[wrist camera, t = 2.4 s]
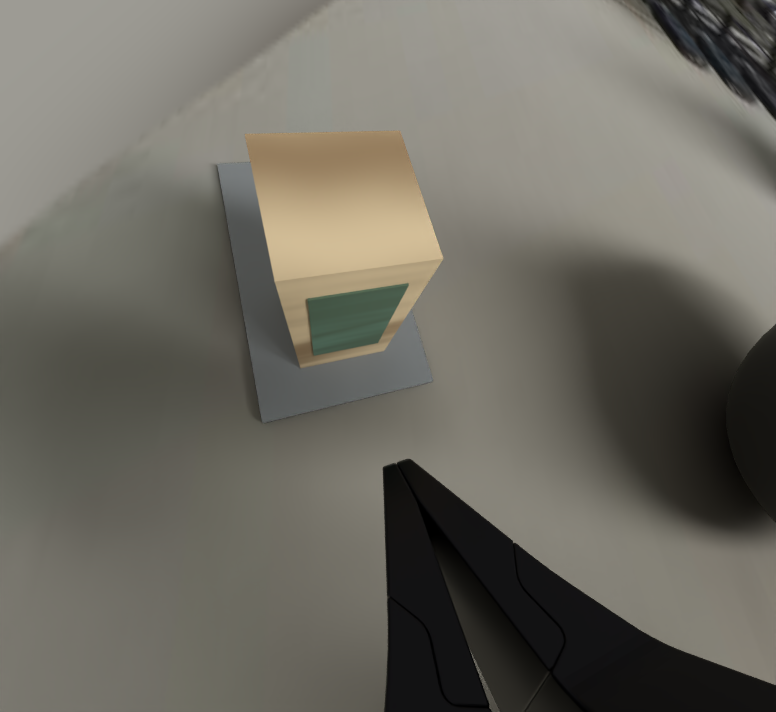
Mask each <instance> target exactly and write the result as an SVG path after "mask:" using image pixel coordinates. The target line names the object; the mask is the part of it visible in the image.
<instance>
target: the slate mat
mask: <svg viewBox="0 0 776 712" xmlns="http://www.w3.org/2000/svg"><path fill="white" fill-rule="evenodd" d="M217 166H218V172H219V177H220V183H221V189H222V195H223V200H224V206H225V212H226V218H227V223H228V229H229V235H230V241H231V246H232V252H233V258H234V264H235V269H236V275H237V281H238V287H239V292H240V298H241V304H242V310H243V315H244V321H245V327H246V333H247V338H248V344H249V350H250V356H251V361H252V367H253V373H254V379H255V385H256V390H257V396H258V402H259V408H260V413H261V419H262V423H266V422H270V421H275V420H279V419H283V418H287V417H291V416H295V415H299V414H303V413H307V412H311V411H315V410H320V409H324V408H328V407H332V406H336V405H340V404H344V403H348V402H352V401H356V400H360V399H365V398H369V397H373V396H377V395H381V394H385V393H389V392H393V391H397V390H401V389H405V388H410V387H414V386H418V385H422V384H426V383H430V382H432V381H433V378H432V375H431V371H430V368H429V365H428V362H427V358H426V355H425V352H424V348H423V345H422V342H421V338H420V335H419V332H418V328H417V325H416V322H415V318H414V315H413V312H412V309H411V310H410V311H409V313H408V314H407V316H406V318H405V319H404V321H403V322H402V324H401V325H400V327H399V328H398V330H397V332H396V333H395V335H394V336H393V338H392V339H391V341H390V342H389V344H388V346H387V347H386V349H385V350H384V351H382V352H377V353H372V354H367V355H362V356H358V357H353V358H348V359H343V360H338V361H334V362H329V363H324V364H319V365H314V366H310V367H305V368H300V365H299V362H298V358H297V355H296V352H295V348H294V345H293V341H292V338H291V335H290V331H289V328H288V325H287V321H286V318H285V315H284V311H283V308H282V305H281V301H280V298H279V295H278V291H277V288H276V284H275V281H274V276H273V271H272V266H271V261H270V256H269V251H268V246H267V241H266V236H265V231H264V227H263V222H262V217H261V212H260V207H259V202H258V197H257V192H256V187H255V182H254V177H253V172H252V167H251V162H245V163H222V164H217Z"/></svg>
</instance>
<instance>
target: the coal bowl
mask: <svg viewBox="0 0 776 712" xmlns="http://www.w3.org/2000/svg"><path fill="white" fill-rule="evenodd" d="M726 425H727V433H728V439H729V443H730V447H731V451H732V454H733V457H734V459H735V462H736V464H737V467H738V469H739V471H740V473H741V475H742V477H743V479H744V480H745V482H746V484H747V485H748V487H749V489H750V490H751V492H752V493H753V495H754V496H755V497H756V499H757V500H758V502H759V503H760V504H761V506H762V507H763V508H764V510H765V511H766V512H767V513H768V515H769V516H770V517H771V518H772V519H773V520H774V521H775V522H776V324H775V325H774V326H773V327H772V328H771V329H770V330H769V331H768V332H767V333H765V334H764V335H763V336H762V338H761V339H760V340H759V341H758V342H757V343H756V344H755V346H754V347H753V348H752V349H751V350H750V352H749V353H748V354H747V356H746V358H745V359H744V361H743V362H742V364H741V365H740V367H739V369H738V371H737V373H736V375H735V378H734V380H733V383H732V385H731V388H730V392H729V396H728V402H727V411H726Z"/></svg>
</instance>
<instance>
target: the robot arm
mask: <svg viewBox="0 0 776 712" xmlns="http://www.w3.org/2000/svg"><path fill="white" fill-rule="evenodd" d="M383 490H384V519H385V549H386V578H387V613H388V656H387V677H386V693H385V707H384V712H492V711H491V710H490V709H489V703H488V700H487V697H486V694H485V691H484V689H483V686H482V683H481V680H480V677H479V674H478V672H477V669H476V666H475V663H474V660H473V658H472V655H471V652H472V654H473V656H474V658H475V660H476V662H477V664H478V667H479V669H480V671H481V673H482V675H483V677H484V679H485V681H486V683H487V685H488V687H489V689H490V691H491V693H492V695H493V698H494V700H495V702H496V704H497V706H498V708H499V710H500V712H776V685H774V684H771V683H768V682H765V681H763V680H760V679H757V678H754V677H752V676H749V675H746V674H744V673H741V672H738V671H735V670H733V669H730V668H727V667H724V666H722V665H719V664H716V663H714V662H711V661H708V660H705V659H703V658H700V657H697V656H695V655H692V654H689V653H686V652H684V651H681V650H679V649H676V648H674V647H671V646H669V645H667V644H665V643H663V642H661V641H659V640H657V639H655V638H653V637H651V636H649V635H648V634H646V633H644V632H642V631H641V630H639V629H638V628H636V627H634V626H633V625H631V624H630V623H628V622H627V621H625V620H624V619H622V618H621V617H619V616H618V615H616V614H615V613H613V612H612V611H610V610H609V609H607V608H606V607H604V606H603V605H601V604H600V603H598V602H597V601H595V600H594V599H592V598H591V597H589V596H588V595H586V594H585V593H583V592H582V591H580V590H579V589H577V588H576V587H574V586H573V585H571V584H570V583H568V582H567V581H566V580H564V579H563V578H561V577H560V576H558V575H557V574H555V573H554V572H553V571H551V570H550V569H548V568H547V567H546V566H544V565H543V564H542V563H540V562H539V561H538V560H537V559H535V558H534V557H533V556H531V555H530V554H529V553H527V552H526V551H525V550H524V549H523V548H521V547H520V546H519V545H518V544H516V543H513V541H512V540H511V539H510V538H509V537H507V536H506V535H505V534H504V533H502V532H501V531H500V530H499V529H497V528H496V527H495V526H494V525H492V524H491V523H490V522H489V521H487V520H486V519H485V518H484V517H482V516H481V515H480V514H479V513H477V512H476V511H475V510H474V509H472V508H471V507H470V506H469V505H467V504H466V503H465V502H464V501H462V500H461V499H460V498H459V497H457V496H456V495H455V494H454V493H452V492H451V491H450V490H449V489H447V488H446V487H445V486H444V485H442V484H441V483H440V482H439V481H437V480H436V479H435V478H434V477H432V476H431V475H430V474H429V473H428V472H426V471H425V470H424V469H423V468H421V467H420V466H419V465H418V464H416V463H415V462H414V461H413V460H411V459H405V460H402V461H399V462H397V464H396V463H393V464H390V465H387V466H384V467H383ZM469 648H470V649H469ZM470 650H471V652H470Z"/></svg>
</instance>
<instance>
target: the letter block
mask: <svg viewBox="0 0 776 712" xmlns="http://www.w3.org/2000/svg"><path fill="white" fill-rule="evenodd" d="M245 138H246V143H247V147H248V152H249V157H250V162H251V167H252V172H253V177H254V182H255V187H256V192H257V197H258V202H259V207H260V212H261V217H262V222H263V227H264V231H265V236H266V241H267V246H268V251H269V256H270V261H271V266H272V271H273V276H274V281H275V284H276V288H277V291H278V295H279V298H280V301H281V305H282V308H283V311H284V315H285V318H286V321H287V325H288V328H289V331H290V335H291V338H292V341H293V345H294V348H295V352H296V355H297V358H298V362H299V365H300V368H305V367H310V366H314V365H319V364H324V363H329V362H334V361H338V360H343V359H348V358H353V357H358V356H362V355H367V354H372V353H377V352H382V351H384V350H385V349H386V347H387V346H388V344H389V342H390V341H391V339H392V338H393V336H394V335H395V333H396V332H397V330H398V328H399V327H400V325H401V324H402V322H403V321H404V319H405V318H406V316H407V314H408V313H409V311H410V310H411V308H412V307H413V305H414V304H415V302H416V300H417V299H418V297H419V296H420V294H421V293H422V291H423V290H424V288H425V286H426V285H427V283H428V282H429V280H430V279H431V277H432V276H433V274H434V272H435V271H436V269H437V268H438V266H439V265H440V263H441V262H442V260H443V256H442V253H441V250H440V247H439V244H438V241H437V238H436V235H435V232H434V229H433V227H432V224H431V221H430V218H429V215H428V212H427V209H426V206H425V203H424V200H423V197H422V194H421V191H420V188H419V185H418V182H417V179H416V176H415V173H414V170H413V167H412V165H411V162H410V159H409V156H408V153H407V150H406V147H405V144H404V141H403V138H402V135H401V132H400V131H363V132H317V133H270V134H245Z"/></svg>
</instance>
